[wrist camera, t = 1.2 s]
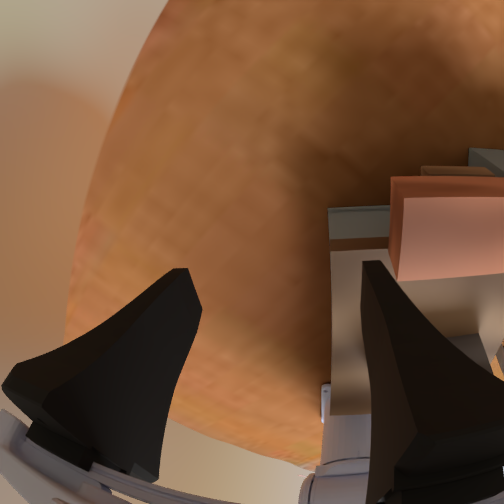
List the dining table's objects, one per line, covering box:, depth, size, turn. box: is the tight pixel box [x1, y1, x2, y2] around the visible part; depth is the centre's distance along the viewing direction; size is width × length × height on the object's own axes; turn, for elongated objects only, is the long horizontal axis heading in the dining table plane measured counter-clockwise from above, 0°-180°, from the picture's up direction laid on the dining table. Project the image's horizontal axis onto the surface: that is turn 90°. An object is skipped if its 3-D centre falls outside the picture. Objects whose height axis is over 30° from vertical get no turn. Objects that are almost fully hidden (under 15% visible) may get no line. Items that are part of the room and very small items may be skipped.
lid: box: [330, 166, 504, 416], centre depth 17 cm, size 22×14×6 cm, turn 12°
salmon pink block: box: [388, 176, 504, 282], centre depth 12 cm, size 4×8×2 cm, turn 102°
